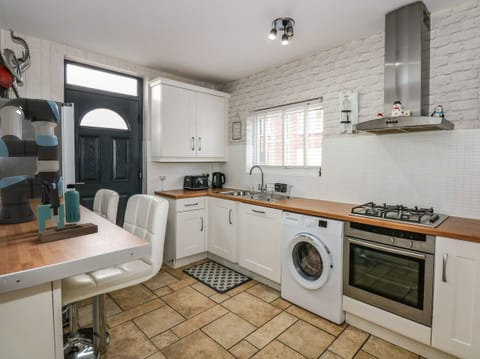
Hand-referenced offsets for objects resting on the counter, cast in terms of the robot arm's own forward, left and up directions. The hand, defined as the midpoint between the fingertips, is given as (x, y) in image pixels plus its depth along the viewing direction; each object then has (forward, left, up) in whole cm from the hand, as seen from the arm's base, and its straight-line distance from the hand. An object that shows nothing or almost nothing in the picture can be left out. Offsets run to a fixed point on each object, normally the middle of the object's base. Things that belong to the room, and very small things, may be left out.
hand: (51, 221), depth 119 cm
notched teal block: (0, 0, -5) cm, 5 cm away
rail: (+12, +3, -5) cm, 13 cm away
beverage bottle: (-8, +11, -5) cm, 15 cm away
